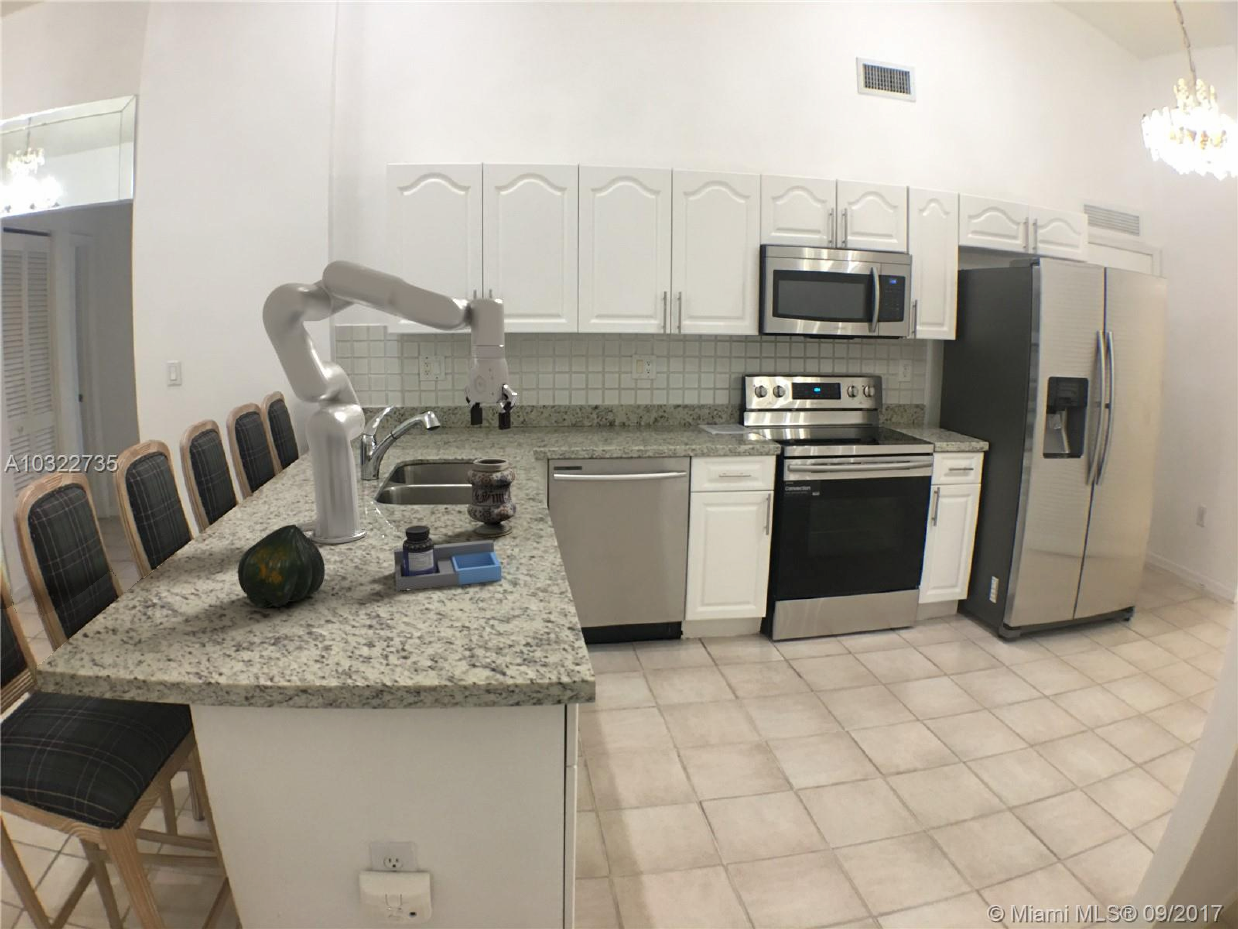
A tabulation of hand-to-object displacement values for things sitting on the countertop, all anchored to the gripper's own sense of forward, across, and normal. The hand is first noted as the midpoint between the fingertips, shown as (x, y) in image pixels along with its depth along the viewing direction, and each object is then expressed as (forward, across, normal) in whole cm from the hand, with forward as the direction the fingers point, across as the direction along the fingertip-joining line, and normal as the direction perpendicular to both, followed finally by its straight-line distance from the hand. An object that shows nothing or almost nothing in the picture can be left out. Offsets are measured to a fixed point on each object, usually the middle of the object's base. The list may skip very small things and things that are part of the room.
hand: (490, 427), depth 166 cm
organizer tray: (+27, +13, -24) cm, 38 cm away
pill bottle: (+27, +10, -28) cm, 41 cm away
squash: (+28, -2, -50) cm, 58 cm away
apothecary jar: (+27, -4, +3) cm, 28 cm away
